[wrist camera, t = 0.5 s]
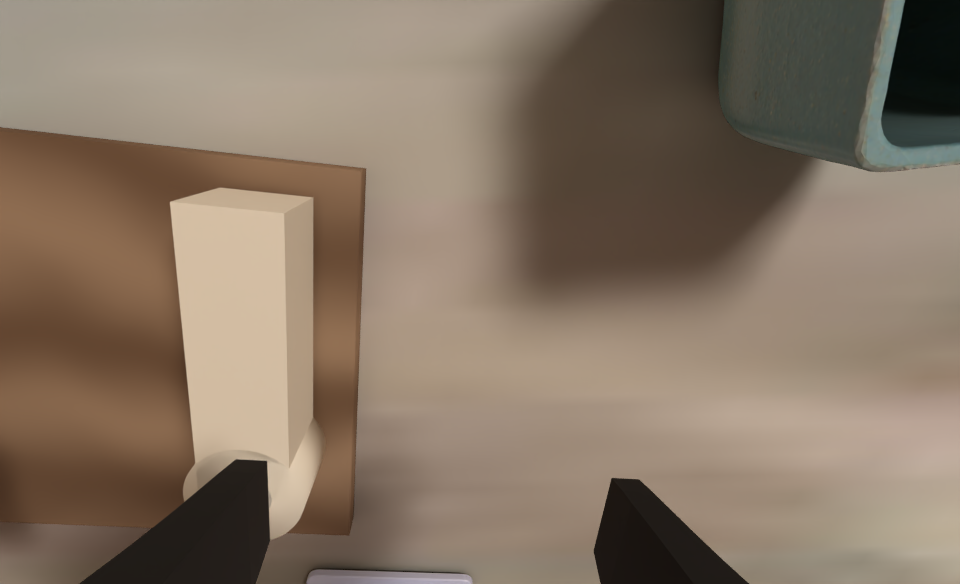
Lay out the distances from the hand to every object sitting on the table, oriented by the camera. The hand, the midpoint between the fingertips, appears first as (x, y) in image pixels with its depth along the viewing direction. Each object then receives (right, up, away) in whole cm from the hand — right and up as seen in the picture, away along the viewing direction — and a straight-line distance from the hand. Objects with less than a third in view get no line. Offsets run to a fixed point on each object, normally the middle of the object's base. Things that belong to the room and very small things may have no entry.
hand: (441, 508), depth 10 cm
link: (-7, +2, +8) cm, 11 cm away
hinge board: (-13, +2, +9) cm, 16 cm away
